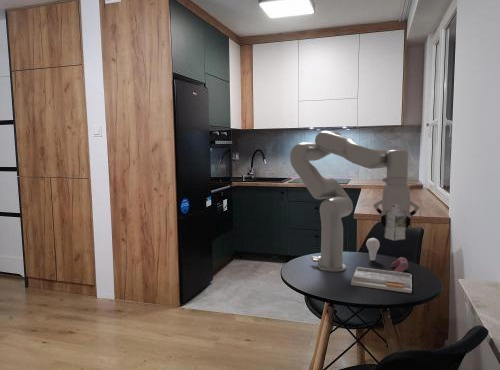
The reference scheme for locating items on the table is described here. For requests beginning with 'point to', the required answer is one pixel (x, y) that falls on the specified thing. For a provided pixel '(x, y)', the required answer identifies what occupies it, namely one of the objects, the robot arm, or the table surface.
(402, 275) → the metal tray
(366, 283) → the mounting plate
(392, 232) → the syrup box
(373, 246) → the lightbulb
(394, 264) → the video game controller
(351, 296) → the table surface
